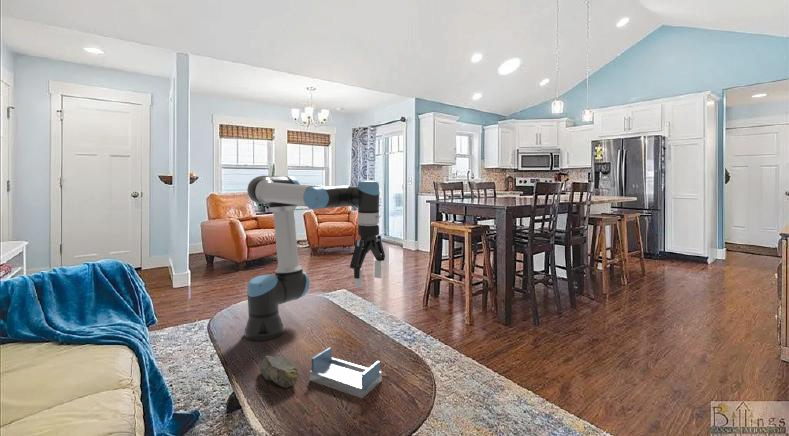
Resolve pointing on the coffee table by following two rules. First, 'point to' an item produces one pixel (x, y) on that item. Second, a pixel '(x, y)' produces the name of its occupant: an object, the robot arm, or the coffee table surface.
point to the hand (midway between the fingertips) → (368, 282)
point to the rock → (279, 371)
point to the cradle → (344, 374)
